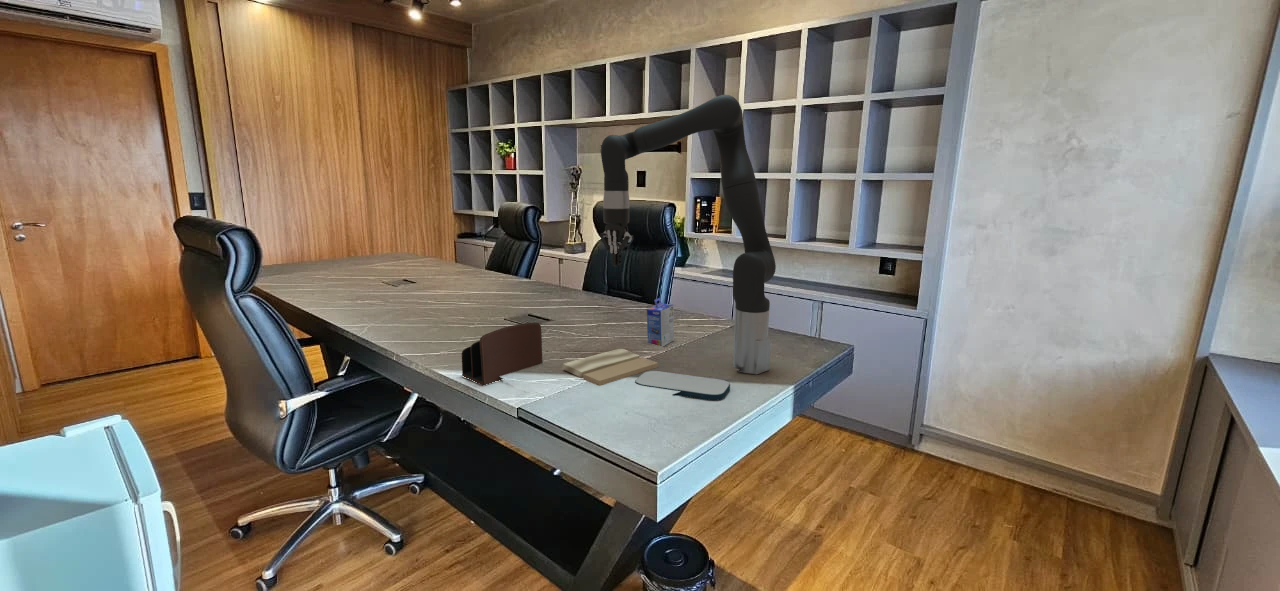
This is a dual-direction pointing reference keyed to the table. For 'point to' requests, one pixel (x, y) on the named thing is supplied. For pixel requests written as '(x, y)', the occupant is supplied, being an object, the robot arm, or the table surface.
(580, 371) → the ash plank
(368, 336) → the table surface
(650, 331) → the ink cartridge box
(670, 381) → the external hard drive
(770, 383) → the table surface
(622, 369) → the tan rectangular board
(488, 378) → the letter holder
